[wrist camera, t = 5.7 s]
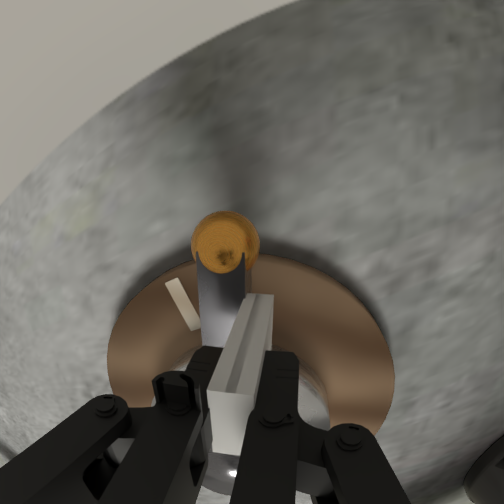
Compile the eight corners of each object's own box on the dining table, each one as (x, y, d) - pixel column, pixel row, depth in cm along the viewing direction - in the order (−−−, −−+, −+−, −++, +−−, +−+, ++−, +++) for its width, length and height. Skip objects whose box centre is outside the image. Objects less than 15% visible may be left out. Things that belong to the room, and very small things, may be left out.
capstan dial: (317, 459, 22) (319, 522, 16) (176, 448, 24) (153, 505, 17) (347, 203, 17) (380, 223, 11) (140, 203, 18) (75, 221, 12)
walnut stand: (358, 470, 25) (360, 485, 23) (143, 452, 28) (137, 466, 26) (411, 257, 20) (422, 266, 18) (99, 247, 22) (83, 255, 20)
